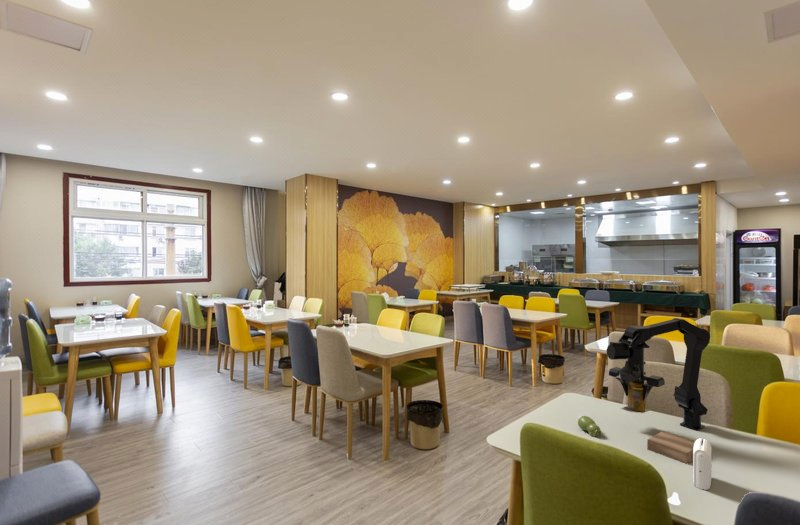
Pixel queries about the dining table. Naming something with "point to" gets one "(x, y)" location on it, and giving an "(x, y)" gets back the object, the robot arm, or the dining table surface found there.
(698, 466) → the photo printer
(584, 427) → the pear
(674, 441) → the brown flat box
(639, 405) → the condiment
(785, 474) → the dining table surface
